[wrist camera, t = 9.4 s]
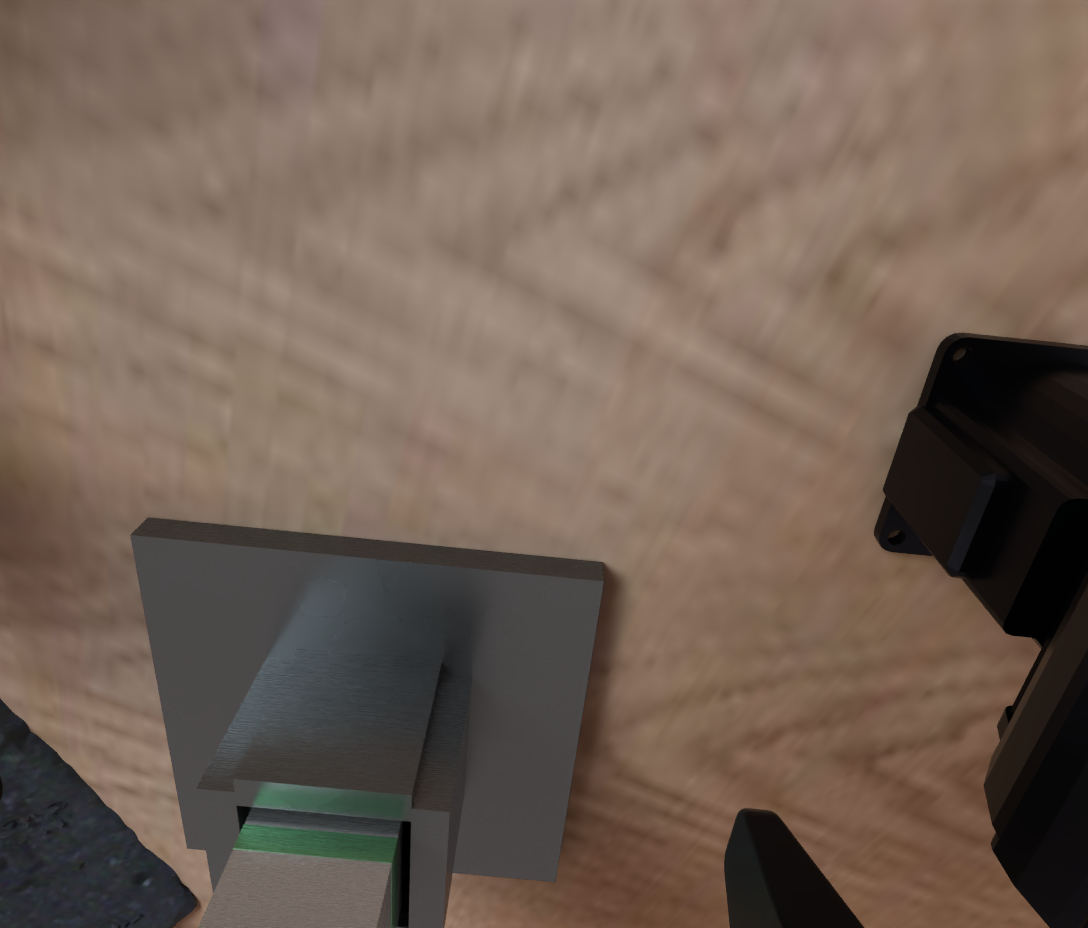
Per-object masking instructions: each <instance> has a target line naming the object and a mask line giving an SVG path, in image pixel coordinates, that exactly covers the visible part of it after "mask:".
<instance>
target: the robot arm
mask: <svg viewBox="0 0 1088 928" xmlns="http://www.w3.org/2000/svg"><path fill="white" fill-rule="evenodd" d="M961 347H966V352H965V354H964V356H963V357H962V358H960V359H959V360H954V361H953V354H954V353H955V351H956V350H958V349H959V348H961ZM883 492H884V494H885V495H886V497H885V500H884V503H883V506H882V509H881V512H880V514H879V517H878V520H877V523H876V526H875V529H874V536H875V538H876V540H877V541H878V543H879V544H880V546H881V547H882V548H883V549H885V550H887V551H890V552H898V553H908V554H918V555H928V556H934V557H935V559H936V560H937V561H938V562H939V564H940V565H941V566H942V567H943V569H944V570H945V571H946V572H947V574H948V575H949V576H951V577H956V578H961V579H962V580H963V581H964V582H965V584H966V585H967V586H968V587H969V588H970V590H971V591H972V592H973V593H974V595H975V596H976V597H977V598H978V599H979V601H980V602H981V603H982V604H983V606H984V607H985V608H986V609H987V611H988V612H989V613H990V614H991V615H992V617H993V618H994V619H995V620H996V622H997V623H998V624H999V625H1000V627H1001V628H1002V629H1003V630H1004V631H1005V633H1006V634H1009V635H1012V636H1022V637H1031V638H1032V639H1033V640H1034V641H1035V642H1036V643H1037V644H1038V646H1039V647H1040V648H1041V651H1040V653H1039V655H1038V657H1037V659H1036V661H1035V663H1034V665H1033V667H1032V669H1031V670H1030V672H1029V674H1028V676H1027V678H1026V680H1025V682H1024V684H1023V686H1022V688H1021V690H1020V692H1019V694H1018V696H1017V698H1016V700H1015V702H1014V704H1013V706H1008V707H1006V708H1005V710H1004V712H1003V714H1002V716H1001V718H1000V720H999V722H998V725H997V728H998V733H999V738H1000V742H999V744H998V746H997V748H996V750H995V752H994V754H993V756H992V758H991V761H990V765H989V768H988V772H987V775H986V779H985V782H984V789H985V794H986V798H987V803H988V808H989V812H990V817H991V821H992V825H993V827H994V829H995V831H996V833H995V835H994V837H993V839H992V841H991V846H992V850H993V852H994V854H995V855H996V857H997V858H998V860H999V862H1000V863H1001V865H1002V867H1003V868H1004V870H1005V872H1006V873H1007V875H1008V877H1009V878H1010V880H1011V881H1012V883H1013V885H1014V886H1015V887H1016V888H1017V890H1018V891H1019V892H1020V893H1021V894H1022V896H1023V897H1024V898H1025V899H1026V900H1027V901H1028V903H1029V904H1030V905H1031V906H1032V907H1033V908H1034V910H1035V911H1036V912H1037V913H1038V914H1039V916H1040V917H1041V918H1042V919H1043V920H1044V921H1045V923H1046V924H1047V925H1048V926H1049V927H1050V928H1088V346H1085V345H1075V344H1066V343H1056V342H1047V341H1037V340H1027V339H1018V338H1008V337H999V336H989V335H979V334H970V333H954V334H952V335H950V336H948V337H946V338H945V339H944V340H943V341H942V342H941V343H940V345H939V347H938V348H937V351H936V353H935V356H934V359H933V362H932V365H931V368H930V371H929V374H928V376H927V379H926V382H925V385H924V388H923V391H922V394H921V397H920V399H919V402H918V405H917V407H916V408H914V409H913V410H912V411H911V412H910V413H909V415H908V417H907V420H906V423H905V426H904V429H903V432H902V435H901V438H900V441H899V444H898V447H897V449H896V452H895V455H894V458H893V461H892V464H891V467H890V470H889V473H888V476H887V479H886V481H885V484H884V487H883ZM895 530H900V532H899V533H898V535H896V536H894V537H890V538H888V536H889V534H890V533H891V532H893V531H895ZM2 794H3V782H2V778H1V775H0V801H1V798H2ZM724 872H725V883H726V893H727V903H728V913H729V923H730V928H864V927H863V926H862V924H861V923H860V922H859V920H858V919H857V918H856V916H855V915H854V914H853V913H852V911H851V910H850V909H849V907H848V906H847V905H846V903H845V902H844V901H843V899H842V898H841V897H840V896H839V894H838V893H837V892H836V890H835V889H834V888H833V886H832V885H831V884H830V882H829V881H828V880H827V879H826V877H825V876H824V875H823V873H822V872H821V871H820V869H819V868H818V867H817V865H816V864H815V863H814V862H813V860H812V859H811V858H810V856H809V855H808V854H807V852H806V851H805V850H804V849H803V847H802V846H801V845H800V843H799V842H798V841H797V839H796V838H795V837H794V835H793V834H792V833H791V832H790V830H789V829H788V828H787V826H786V825H785V824H784V822H783V821H782V820H781V818H780V817H779V816H778V815H777V814H775V813H774V812H772V811H769V810H760V809H749V808H744V809H742V810H740V811H739V813H738V815H737V817H736V820H735V823H734V826H733V830H732V833H731V836H730V839H729V842H728V845H727V849H726V852H725V860H724Z"/></svg>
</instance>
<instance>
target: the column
mask: <svg viewBox="0 0 1088 928" xmlns="http://www.w3.org/2000/svg"><path fill="white" fill-rule="evenodd" d="M402 851H403V821H399V820H388V819H377V818H366V817H355V816H345V815H334V814H323V813H312V812H301V811H290V810H280V809H269V808H258V807H252V808H251V810H250V812H249V815H248V817H247V819H246V821H245V824H244V825H243V827H242V829H241V831H240V834H239V836H238V838H237V840H236V843H235V845H234V847H233V851H232V853H231V855H230V857H229V860H228V862H227V864H226V866H225V868H224V871H223V873H222V875H221V877H220V880H219V882H218V884H217V886H216V889H215V891H214V893H213V895H212V898H211V900H210V902H209V904H208V907H207V909H206V911H205V913H204V915H203V918H202V920H201V922H200V924H199V927H198V928H397V925H398V920H399V916H400V911H401V906H402Z"/></svg>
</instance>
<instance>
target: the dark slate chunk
mask: <svg viewBox="0 0 1088 928" xmlns="http://www.w3.org/2000/svg"><path fill="white" fill-rule="evenodd" d="M0 775H1V778H2V782H3V794H2V798H1V801H0V928H172V927H174V926H175V924H176V923H177V922H178V921H179V920H181V919H182V918H183V917H185V916H186V915H188V914H189V913H190V912H191V911H192V910H193V909H194V908H195V907H196V905H197V904H196V901H195V899H194V897H193V896H192V893H191V891H190V890H189V889H188V888H187V887H186V886H184V885H183V884H182V883H181V881H180V879H179V877H178V876H177V874H176V873H175V871H174V870H173V869H172V868H171V867H170V866H169V865H167V864H166V863H165V862H164V861H163V860H161V859H160V858H158V857H157V856H156V855H155V854H154V853H152V852H151V851H150V850H148V849H146V848H145V847H144V846H143V845H142V844H141V842H140V841H139V840H138V838H137V836H136V834H135V832H134V831H133V830H132V829H130V828H129V827H127V826H126V825H125V824H124V822H123V821H122V819H121V818H120V817H119V815H118V814H116V813H115V812H114V811H113V810H112V809H110V808H109V807H107V806H106V805H105V804H104V802H103V801H102V800H101V799H100V797H99V796H98V795H97V794H96V793H95V792H94V790H93V789H92V788H91V787H90V786H88V785H87V784H86V783H85V782H84V781H83V779H82V778H81V777H80V776H79V775H78V774H77V773H76V771H75V770H74V769H73V768H72V767H71V766H70V765H68V764H67V763H65V762H64V761H63V760H62V759H61V758H60V756H59V755H58V753H57V752H56V751H55V750H53V749H52V748H51V747H50V746H49V745H48V744H46V743H45V742H44V741H43V740H42V739H41V738H39V737H38V736H37V735H35V734H34V733H32V732H30V730H29V727H28V726H27V724H26V723H25V722H24V720H22V719H21V718H20V717H18V716H17V715H15V714H14V713H13V712H12V711H11V710H10V709H9V708H8V707H7V705H6V704H5V703H4V702H3V701H2V700H1V699H0Z"/></svg>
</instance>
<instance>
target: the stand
mask: <svg viewBox="0 0 1088 928" xmlns="http://www.w3.org/2000/svg"><path fill="white" fill-rule="evenodd" d="M130 536H131V541H132V547H133V552H134V558H135V563H136V569H137V574H138V580H139V585H140V591H141V596H142V602H143V607H144V613H145V618H146V624H147V629H148V635H149V640H150V646H151V651H152V657H153V662H154V668H155V673H156V679H157V684H158V690H159V695H160V701H161V706H162V712H163V717H164V723H165V728H166V734H167V739H168V745H169V750H170V756H171V762H172V767H173V773H174V778H175V784H176V789H177V795H178V800H179V806H180V811H181V817H182V822H183V828H184V833H185V839H186V844H187V848H188V849H199V850H206V853H207V859H208V865H209V871H210V877H211V883H212V889H213V893H214V891H215V889H216V886H217V884H218V882H219V880H220V877H221V875H222V873H223V871H224V868H225V866H226V864H227V862H228V860H229V857H230V855H231V853H232V851H233V847H234V845H235V843H236V840H237V838H238V836H239V834H240V831H241V829H242V827H243V825H244V824H245V821H246V819H247V817H248V815H249V812H250V810H251V808H252V807H258V808H269V809H280V810H290V811H301V812H312V813H323V814H334V815H345V816H355V817H366V818H377V819H388V820H399V821H403V851H402V906H401V911H400V916H399V920H398V925H397V928H444V926H445V920H446V913H447V907H448V900H449V893H450V887H451V880H452V873H461V874H472V875H483V876H494V877H505V878H516V879H527V880H538V881H549V882H555V881H556V875H557V869H558V863H559V857H560V850H561V844H562V838H563V832H564V826H565V820H566V813H567V807H568V801H569V795H570V789H571V782H572V776H573V770H574V764H575V758H576V752H577V745H578V739H579V733H580V727H581V721H582V714H583V708H584V702H585V696H586V690H587V684H588V677H589V671H590V665H591V659H592V653H593V647H594V640H595V634H596V628H597V622H598V616H599V609H600V603H601V597H602V591H603V585H604V574H603V562H593V561H583V560H573V559H563V558H553V557H543V556H532V555H522V554H512V553H502V552H492V551H482V550H471V549H461V548H451V547H441V546H431V545H421V544H410V543H400V542H390V541H380V540H370V539H360V538H349V537H339V536H329V535H319V534H309V533H299V532H288V531H278V530H268V529H258V528H248V527H238V526H227V525H217V524H207V523H197V522H187V521H177V520H166V519H156V518H147V519H146V520H145V521H144V522H143V523H142V524H141V525H140V526H139V527H138V528H137V529H136V530H135V531H134V532H133V533H132V534H131V535H130Z"/></svg>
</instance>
